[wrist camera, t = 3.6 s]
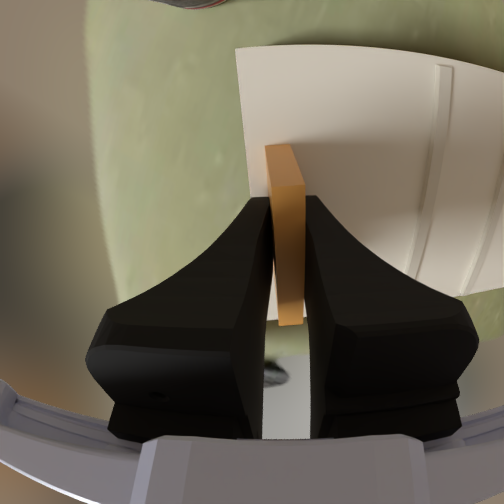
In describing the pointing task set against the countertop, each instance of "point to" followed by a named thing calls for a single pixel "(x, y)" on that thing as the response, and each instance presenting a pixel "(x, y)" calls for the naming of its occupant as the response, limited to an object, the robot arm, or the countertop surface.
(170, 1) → the pill bottle
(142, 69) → the countertop surface
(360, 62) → the lid
